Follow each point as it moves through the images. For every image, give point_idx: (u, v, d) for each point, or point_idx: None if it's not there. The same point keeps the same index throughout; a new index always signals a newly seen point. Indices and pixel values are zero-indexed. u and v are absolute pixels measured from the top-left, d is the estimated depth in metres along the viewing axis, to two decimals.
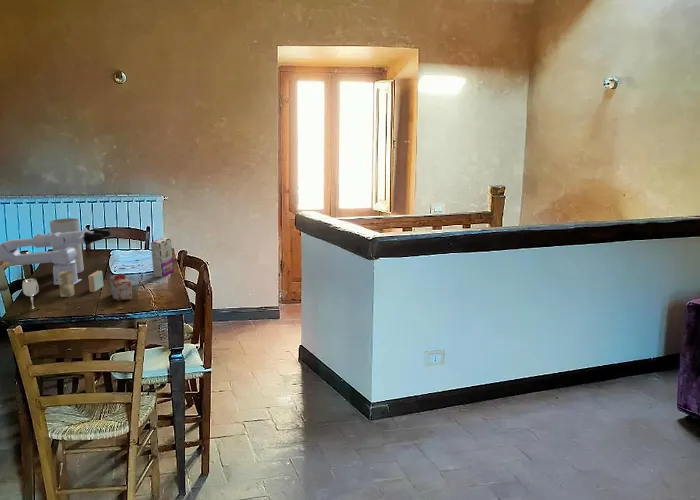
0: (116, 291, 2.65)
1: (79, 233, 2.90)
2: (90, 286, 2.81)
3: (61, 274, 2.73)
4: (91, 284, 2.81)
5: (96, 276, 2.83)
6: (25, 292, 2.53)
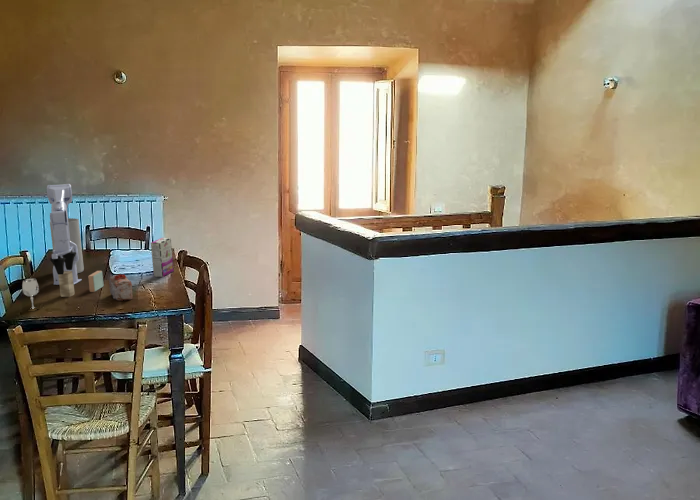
0: (116, 291, 2.65)
1: None
2: (90, 286, 2.81)
3: (61, 274, 2.73)
4: (91, 284, 2.81)
5: (96, 276, 2.83)
6: (25, 292, 2.53)
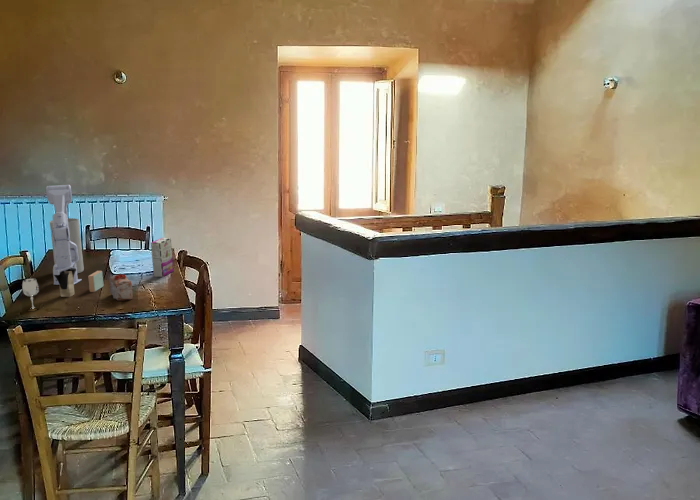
0: (116, 291, 2.65)
1: None
2: (90, 286, 2.81)
3: None
4: (91, 284, 2.81)
5: (96, 276, 2.83)
6: (25, 292, 2.53)
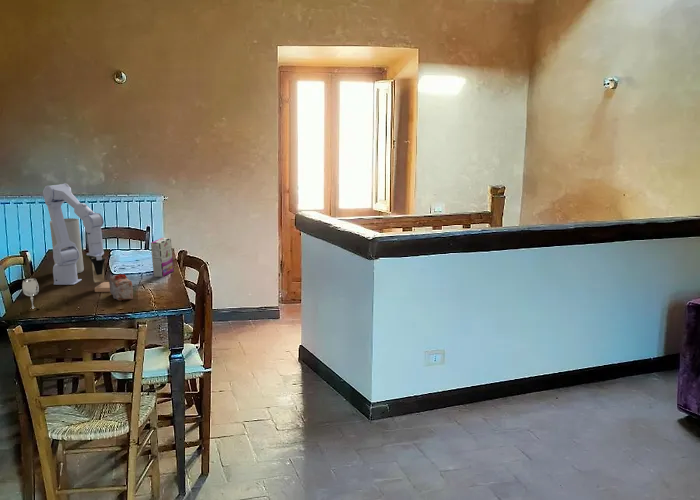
0: (117, 291, 2.65)
1: None
2: (100, 288, 2.81)
3: None
4: (102, 290, 2.81)
5: None
6: (25, 292, 2.53)
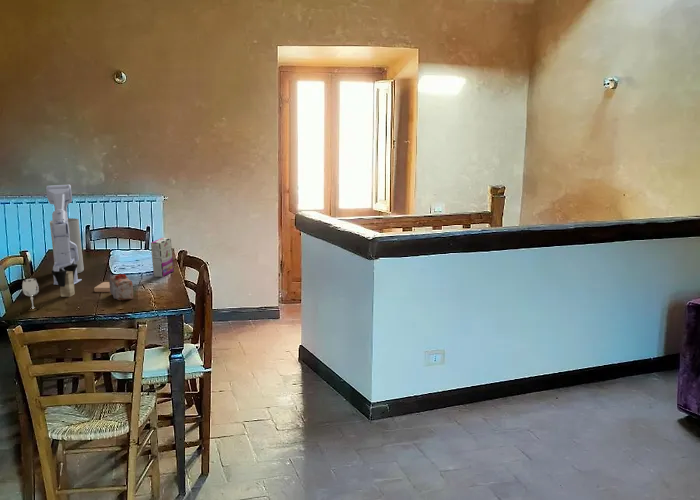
0: (117, 291, 2.65)
1: None
2: (99, 288, 2.81)
3: None
4: (102, 290, 2.81)
5: None
6: (25, 292, 2.53)
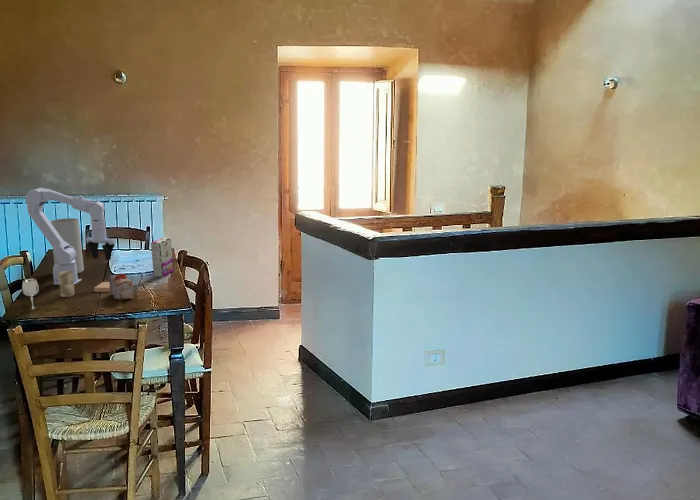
0: (118, 291, 2.65)
1: None
2: (99, 288, 2.81)
3: (61, 274, 2.73)
4: (101, 290, 2.81)
5: None
6: (25, 292, 2.53)
